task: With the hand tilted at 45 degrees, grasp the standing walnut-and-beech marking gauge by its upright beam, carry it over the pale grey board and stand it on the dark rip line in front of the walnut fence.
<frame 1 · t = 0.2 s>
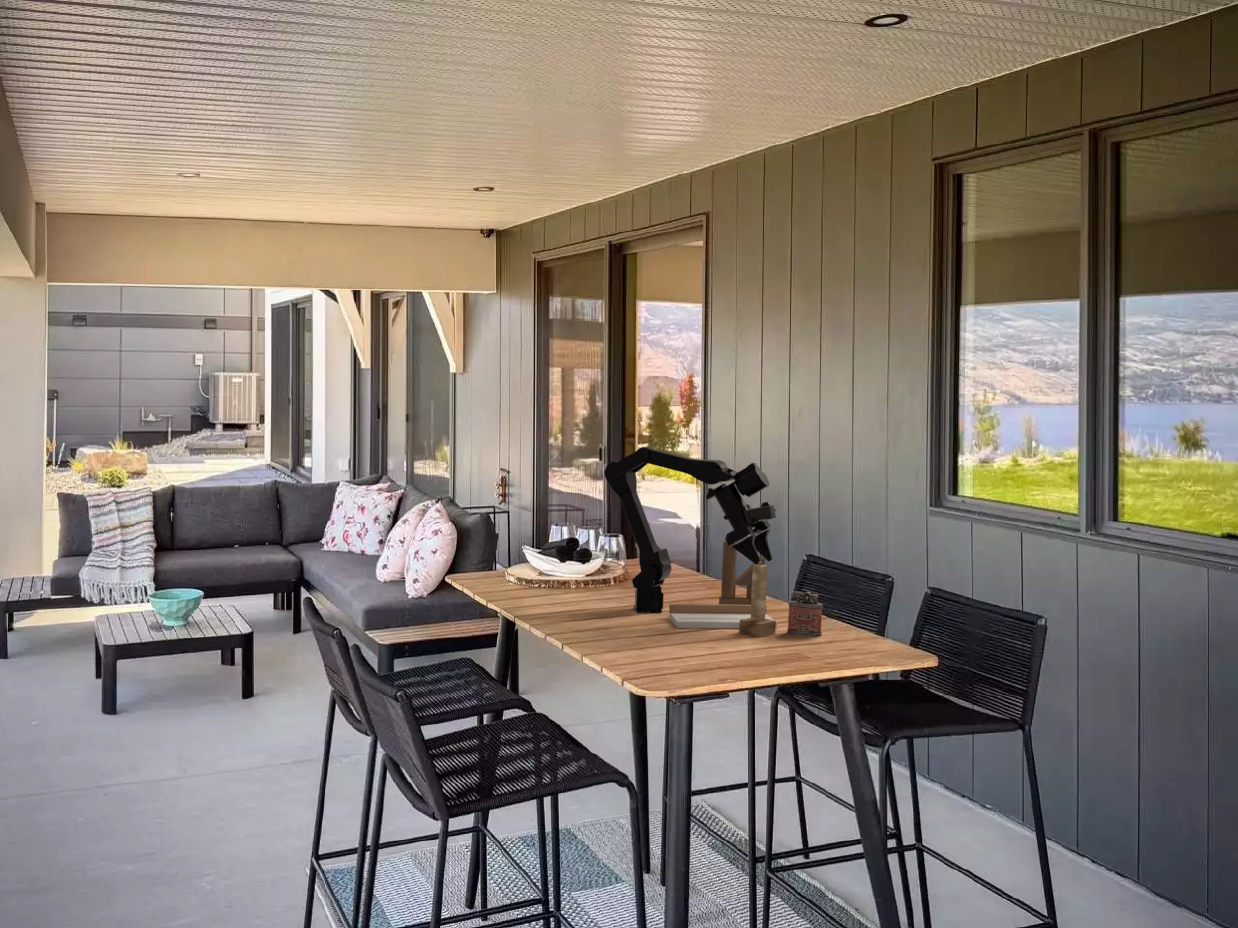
hand: (765, 562, 285), 15 cm above the table, tool tilted 35°, fingers open, 9 cm apart
board: (722, 623, 285), on the table
wooden block: (740, 612, 301), on the table
lighter: (804, 635, 275), on the table
gauge: (757, 633, 275), on the table
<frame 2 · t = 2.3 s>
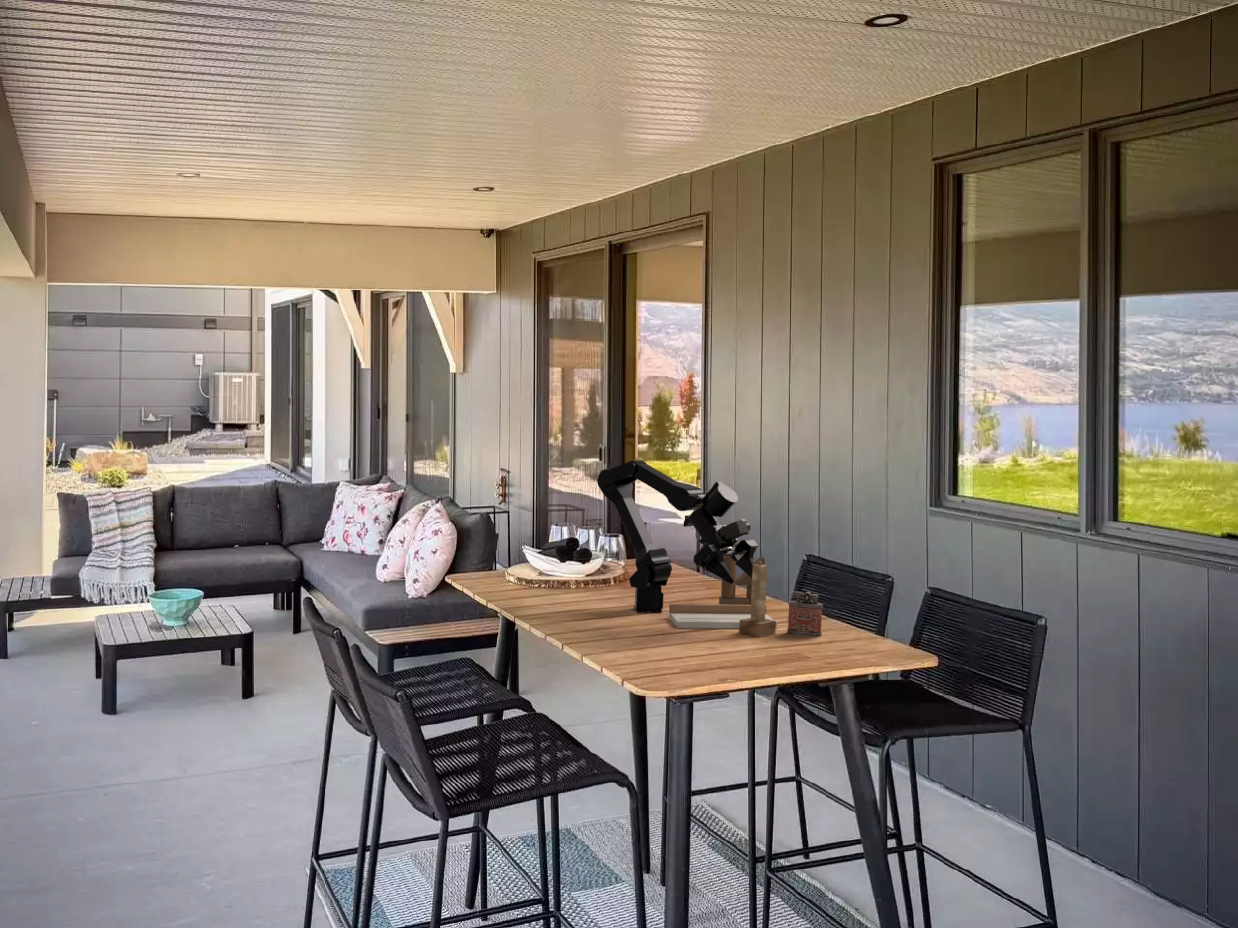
hand: (745, 580, 277), 12 cm above the table, tool tilted 45°, fingers open, 9 cm apart
nothing on the table moved.
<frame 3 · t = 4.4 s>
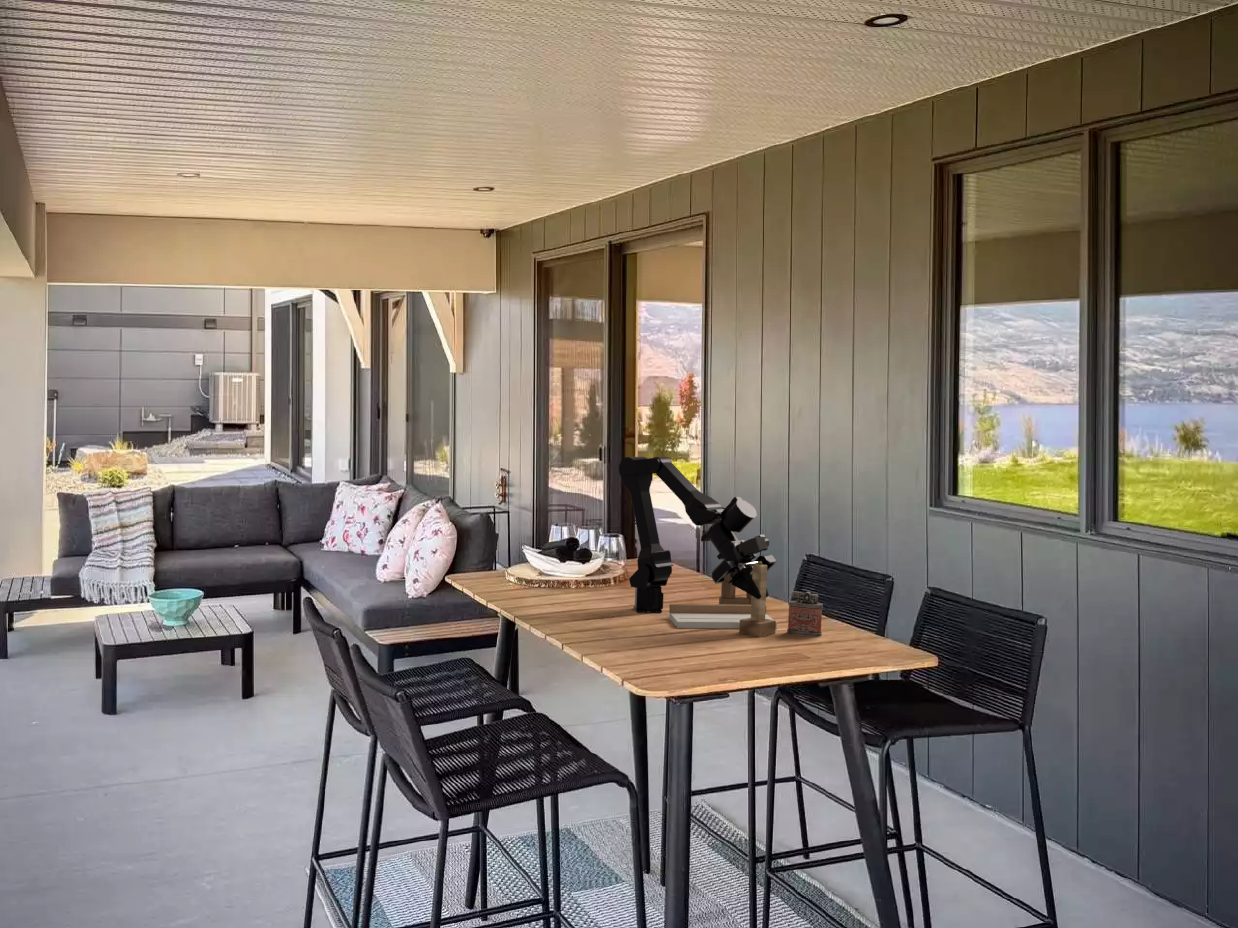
hand: (763, 597, 273), 9 cm above the table, tool tilted 45°, fingers closed on gauge, 2 cm apart
gauge: (757, 633, 275), on the table, touching gripper
everything else where it was.
when the fingers open (11 cm above the table, at t = 6.3 s): gauge drops 1 cm, resting on board.
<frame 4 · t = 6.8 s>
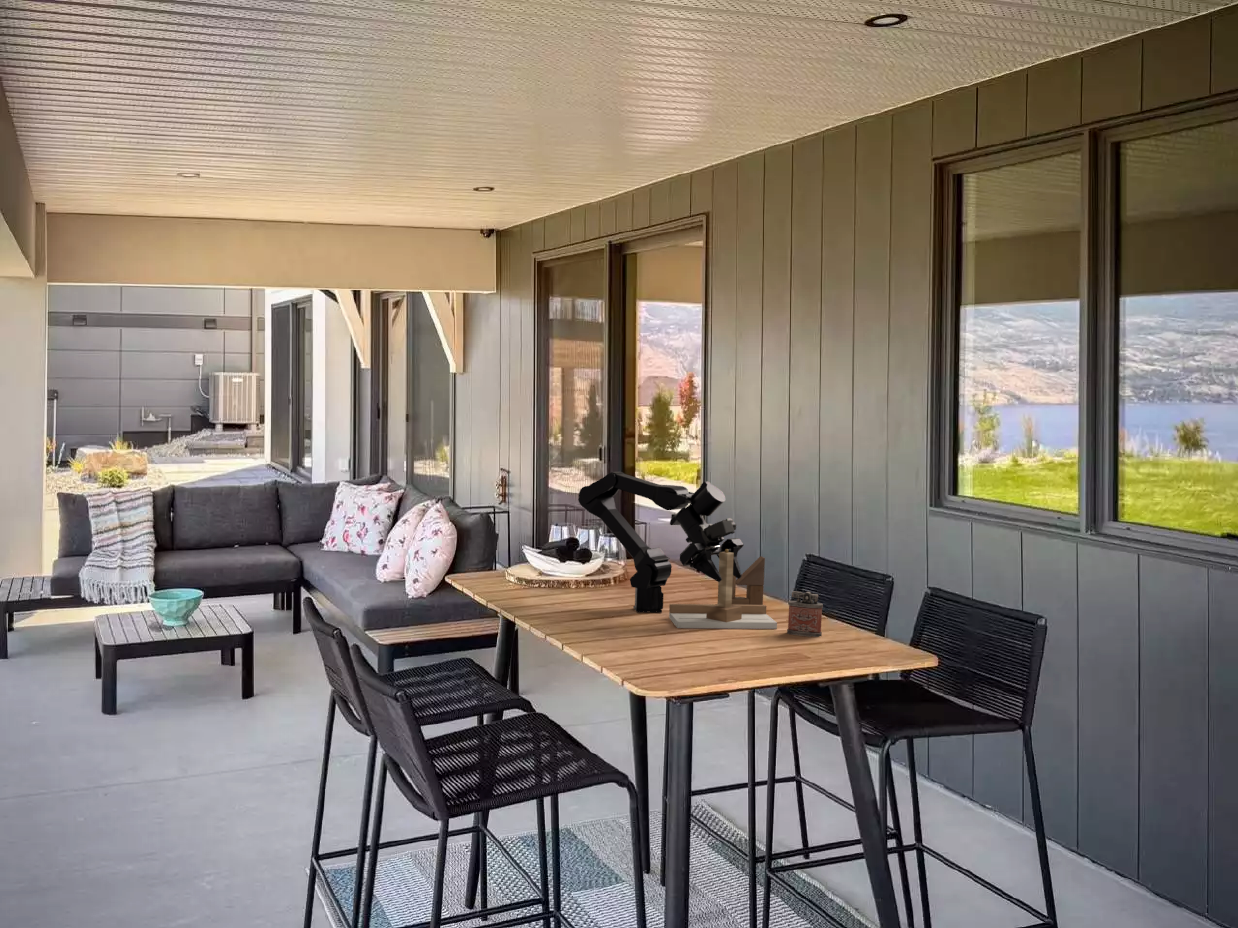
hand: (730, 579, 281), 11 cm above the table, tool tilted 45°, fingers open, 7 cm apart
gauge: (723, 618, 283), point 2 cm above the table, touching board
everything else where it was.
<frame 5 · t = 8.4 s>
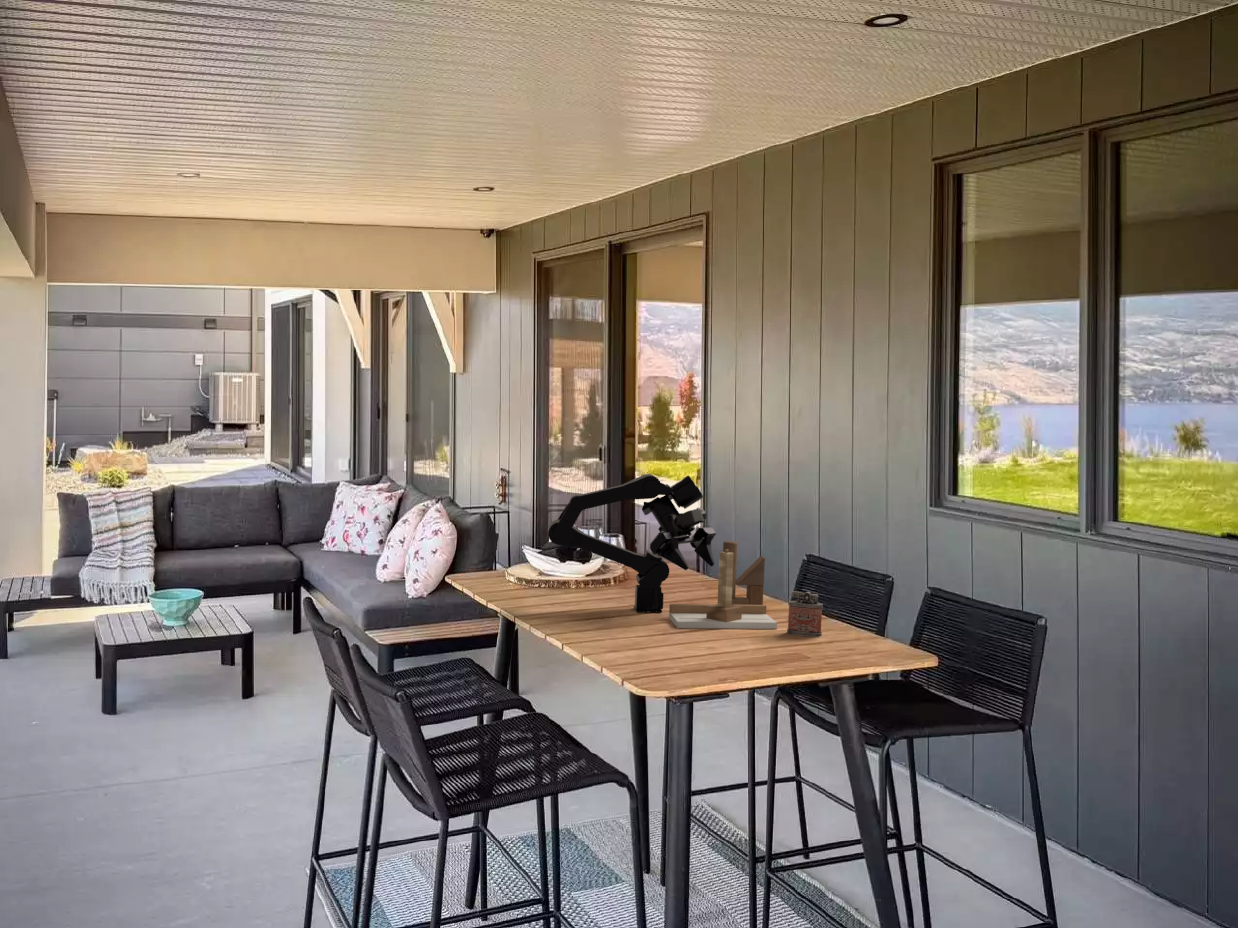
hand: (700, 567, 288), 13 cm above the table, tool tilted 45°, fingers open, 9 cm apart
nothing on the table moved.
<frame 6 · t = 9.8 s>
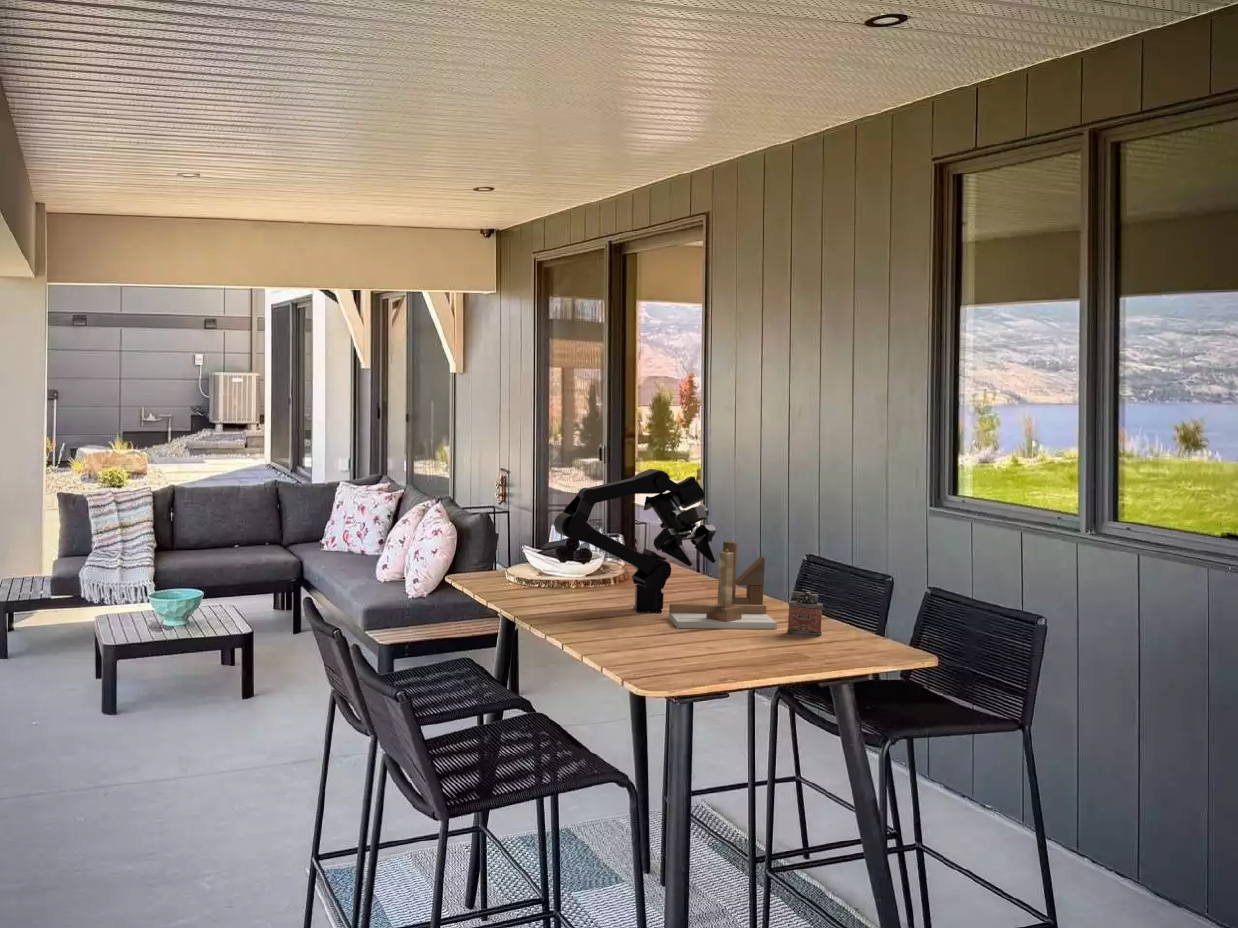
hand: (702, 563, 289), 14 cm above the table, tool tilted 45°, fingers open, 9 cm apart
nothing on the table moved.
at the end: gauge inside the target area on the board (1.2 cm from its centre), point 1.5 cm above the board's base; gauge tilted 0°; the gripper is holding nothing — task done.
